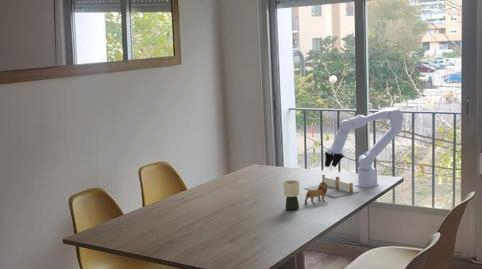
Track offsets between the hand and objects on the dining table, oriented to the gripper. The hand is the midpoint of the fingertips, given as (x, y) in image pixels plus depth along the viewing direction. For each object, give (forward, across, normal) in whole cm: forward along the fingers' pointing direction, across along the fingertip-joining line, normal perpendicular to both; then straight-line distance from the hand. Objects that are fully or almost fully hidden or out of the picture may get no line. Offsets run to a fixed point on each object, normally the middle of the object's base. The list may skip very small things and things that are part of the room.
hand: (330, 166), depth 315 cm
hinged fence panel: (+9, -1, +3) cm, 10 cm away
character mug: (+17, +41, +9) cm, 45 cm away
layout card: (+10, +5, +8) cm, 14 cm away
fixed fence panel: (+7, +4, +14) cm, 16 cm away
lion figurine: (+13, +26, +12) cm, 32 cm away
